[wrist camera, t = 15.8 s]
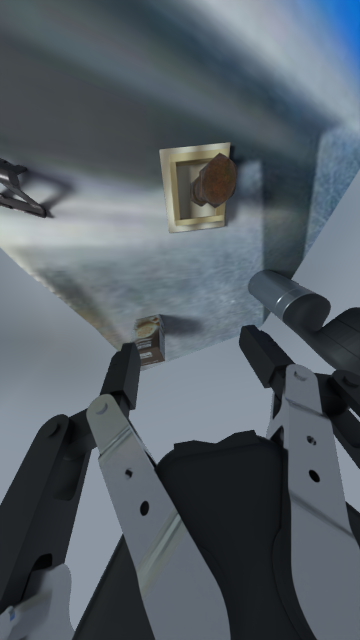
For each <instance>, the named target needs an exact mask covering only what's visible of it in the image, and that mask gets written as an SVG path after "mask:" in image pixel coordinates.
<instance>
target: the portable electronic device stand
mask: <svg viewBox="0 0 360 640" xmlns="http://www.w3.org/2000/svg"><path fill="white" fill-rule="evenodd" d="M5 163H6V160H3V159H0V183H2V184H3V185H5V186H6V187H7V188H9V189H10V190H11V191H13V192H14V193H16V194H17V195H18V196H20V197H21V198H23V199H24V200H25V201H27V202H28V203H29V204H28V203H25V202H21V201H18V200H15V199H11V198H8V197H5V196H4V195H2V194H0V206H3V207H7V208H10V209H14V210H18V211H21V212H24V213H28V214H31V215H35V216H38V217H42V218H46V216H47V213H46V210H45V209H44V208H43V207H42V206H40V205H39V204H38V203H37V202H35V201H34V200H33V199H31V198H30V197H29V196H28V195H26V194H25V193H24V192H22V191H21V190H20V188H19V180H18V177H17V175H19V174H20V173H22V172H24V171H26V170H27V169H26V167H24V166H21V165H17V166H11V165H8V164H5Z"/></svg>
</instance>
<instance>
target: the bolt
mask: <svg viewBox="0 0 360 640" xmlns="http://www.w3.org/2000/svg"><path fill="white" fill-rule="evenodd" d="M236 178H237V166H236V165H235V164H234V162H233V161H231V160H230V159H229V158H228V157H227V156H225V155H224V154H222V153H218V154H217V155H216V156H215V157H214V158H213V159H212V160H211V161H210V162H209V163H208V164H207V165H205V166H204V167H203V168H202V169H201V170H200V171H199V176H198V177H197V178H196V179H195V180H194V181H193V182H192V183H191V184H190V198H191V201H192V202H194V203H195V204H197V205H199V206H200V207H202V206H204V205H205V204H206V203H208V204H210V205H211V206H213V207H214V208H217V207H218V206H220V205H221V204H223V203H224V202H225V201H226V200H227V199H229V198H230V197H231V196H232V195H233V194H234V191H235V186H236Z"/></svg>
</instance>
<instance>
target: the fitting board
mask: <svg viewBox="0 0 360 640" xmlns="http://www.w3.org/2000/svg"><path fill="white" fill-rule="evenodd" d="M229 152H230V143H221V144H211V145H201V146H191V147H181V148H172V149H162V150H160V159H161V168H162V176H163V185H164V193H165V201H166V210H167V218H168V226H169V233H174V232H182V231H190V230H198V229H206V228H214V227H223V226H224V222H225V208H226V201H225V202H224V203H223V204H221V205H220V206H218V207H217V208H214V207H213V206H211V205H210V204H208V203H206V204H205V205H204V206H202V207H200V206H199V205H197V204H195V203H194V202H192V201H191V198H190V184H191V183H192V182H193V181H194V180H195V179H196V178H197V177H198V176H199V171H200V170H201V169H202V168H203V167H204V166H205V165H207V164H208V163H209V162H210V161H211V160H212V159H213V158H214V157H215V156H216V155H217V154H218V153H222V154H224V155H225V156H227V157H228V158H229Z"/></svg>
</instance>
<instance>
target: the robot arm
mask: <svg viewBox="0 0 360 640" xmlns="http://www.w3.org/2000/svg"><path fill="white" fill-rule="evenodd" d="M248 290H249V292H250V294H251V295H253V296H254V297H255V298H256V299H257V300H258V301H259V302H261V303H262V304H263V305H264V306H265V307H266V308H268V309H269V310H270V311H271V312H272V313H274V314H275V315H276V316H277V317H278V318H279V319H280V320H282V321H283V322H284V323H285V324H286V325H287V326H289V327H290V328H291V329H292V330H293V331H294V332H295V333H297V334H298V335H299V336H300V337H301V338H302V339H303V340H304V341H305V342H306V343H307V344H308V345H309V346H310V347H311V348H312V349H313V350H314V351H315V352H316V353H317V354H318V355H320V357H322V358H323V359H324V360H325V361H326V362H327V363H328V364H330V365H331V366H332V367H333V368H335V369H336V371H334V372H333V373H332V375H327V374H319V373H313V372H312V371H311V370H309V369H308V368H306V367H304V366H302V365H298V364H295V363H294V362H293V361H292V360H291V359H290V357H289V356H287V354H286V353H285V352H284V351H283V350H282V349H281V348H280V347H279V346H278V344H277V343H276V342H275V341H274V340H273V339H272V338H271V337H270V335H268V334H267V333H265V332H264V331H262V330H261V331H259V330H258V329H257V328H256V326H255V325H247V326H242V328H241V333H240V338H239V346H240V348H241V350H242V352H243V353H244V355H245V357H246V358H247V360H248V362H249V363H250V365H251V367H252V368H253V370H254V372H255V373H256V375H257V376H258V378H259V380H260V381H261V383H262V385H263V386H264V388H270V387H271V388H272V389H273V395H272V405H271V416H270V423H269V426H268V429H267V434H266V438H264V437H261V436H257V435H256V433H255V431H254V430H250V431H244V432H238V433H234V434H232V435H231V436H229V437H227V438H225V439H224V440H222V441H220V442H218V443H208V442H201V441H195V440H193V441H188V442H182V443H176V444H174V450H172V451H170V452H169V453H167V454H166V455H165V456H164V457H163V458H162V459H161V460H160V462H159V463H158V464H156V462H155V460H154V459H153V457H152V455H151V454H150V452H149V451H148V449H147V448H146V446H145V445H144V443H143V441H142V440H141V438H140V436H139V435H138V433H137V431H136V430H135V428H134V426H133V425H132V423H131V421H130V420H129V411H130V410H134V409H135V407H136V399H137V391H138V382H139V375H140V367H141V357H140V354H139V352H138V349H137V346H136V344H135V342H130V343H124V344H123V346H122V349H121V351H119V352H116V354H115V355H114V356H113V357H112V359H111V362H110V366H109V368H108V372H107V374H106V377H105V380H104V383H103V386H102V389H101V392H100V395H99V397H97V398H96V399H95V400H93V401H92V403H91V404H90V405H89V407H88V408H87V409H85V410H83V411H81V412H79V413H77V414H75V415H73V416H71V417H68V416H66V415H64V414H60V415H57V416H54V417H53V418H51V419H50V420H48V421H47V422H46V423H45V424H44V425H43V426H42V427H41V428H40V430H39V431H38V433H37V435H36V437H35V439H34V440H33V442H32V444H31V446H30V448H29V450H28V452H27V454H26V456H25V458H24V460H23V462H22V464H21V466H20V468H19V470H18V472H17V474H16V476H15V478H14V480H13V482H12V484H11V486H10V487H9V489H8V491H7V493H6V495H5V497H4V499H3V501H2V503H1V505H0V640H360V513H359V512H358V511H357V510H356V509H354V508H353V507H352V506H351V505H349V504H348V503H347V502H346V501H345V498H344V492H343V486H342V480H341V474H340V469H339V463H338V457H337V452H336V446H335V440H334V435H335V437H336V438H337V439H338V441H339V442H340V443H341V444H342V446H343V447H344V449H345V450H346V451H347V453H348V454H349V455H350V457H351V458H352V460H353V461H354V462H355V463H356V465H357V466H358V468H359V469H360V422H359V421H358V420H357V418H356V417H355V416H354V415H353V414H352V413H351V412H350V411H349V410H348V409H350V408H351V409H352V410H353V411H354V412H355V413H356V414H357V415H358V416H359V417H360V308H357V307H355V308H350V309H348V310H346V311H344V312H343V313H341V314H340V315H338V316H337V317H336V318H335V319H333V320H332V321H330V322H329V323H328V324H326V325H325V326H324V327H322V326H323V323H324V321H325V320H326V318H327V316H328V315H329V312H330V308H331V305H330V302H329V301H328V300H327V299H326V298H324V297H322V296H320V295H318V294H316V293H314V292H312V291H310V290H308V289H306V288H304V287H302V286H300V285H299V284H298V283H296V282H294V281H292V280H290V279H288V278H286V277H284V276H282V275H280V274H278V273H275V272H273V271H270V270H263V271H260V272H258V273H257V274H256V275H254V276H253V277H252V279H251V280H250V282H249V286H248ZM333 434H334V435H333ZM95 447H98V449H99V452H100V456H99V458H98V461H99V465H100V469H101V471H102V474H103V477H104V480H105V483H106V486H107V488H108V491H109V494H110V497H111V500H112V503H113V505H114V508H115V511H116V514H117V517H118V520H119V523H120V526H121V528H122V531H123V534H122V536H121V538H120V540H119V542H118V544H117V546H116V548H115V550H114V553H113V555H112V557H111V559H110V561H109V563H108V565H107V567H106V569H105V571H104V573H103V575H102V577H101V579H100V581H99V583H98V585H97V587H96V589H95V592H94V594H93V596H92V598H91V600H90V602H89V604H88V606H87V608H86V610H85V612H84V614H83V616H82V618H81V620H80V622H79V624H78V626H77V628H76V631H74V630H73V628H72V626H71V623H70V618H69V600H70V593H71V574H70V571H69V568H68V567H67V566H66V565H65V564H64V562H65V558H66V554H67V550H68V545H69V541H70V537H71V533H72V529H73V525H74V521H75V516H76V512H77V508H78V504H79V500H80V496H81V492H82V487H83V484H84V479H85V475H86V471H87V467H88V463H89V459H90V455H91V450H92V449H94V448H95Z"/></svg>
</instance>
